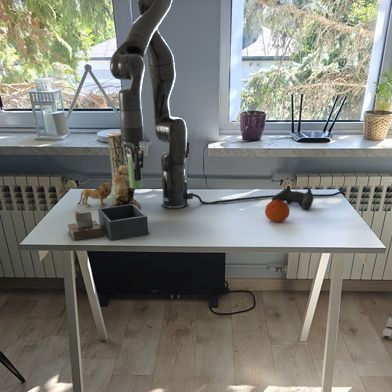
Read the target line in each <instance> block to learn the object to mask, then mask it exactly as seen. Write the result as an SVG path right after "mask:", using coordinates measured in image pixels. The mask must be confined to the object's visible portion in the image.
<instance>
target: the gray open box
mask: <svg viewBox="0 0 392 392" xmlns="http://www.w3.org/2000/svg"><path fill="white" fill-rule="evenodd" d="M97 214H98V224H99V226H100V227H101V228H102V232H104V233H105V234H106V236H107V238H108V239H110V241H116V240H122V239H128V238H134V237H141V236H146V235H149V225H148V224H149V222H148V215H146V213H145V212H143V211H142V210H141V209H140V207H139V208H137V207H136V206H135V205H134V204H128V205H121V206H114V207H110V206H108V207H102V208H97Z"/></svg>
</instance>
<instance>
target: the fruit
mask: <svg viewBox="0 0 392 392" xmlns="http://www.w3.org/2000/svg"><path fill="white" fill-rule="evenodd" d="M264 215H265V217H266V218H267V219H268V220H269V221H271V222H274V223H281V222H284V221H285V220H287V219H288V218H289V216H290V207H289V205H288V203H287V202H286V201H282V200H278V199H276V200H274V201H272V200H271V201H270V202H268V203H267V205H266V206H265V209H264Z"/></svg>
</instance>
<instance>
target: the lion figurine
mask: <svg viewBox="0 0 392 392" xmlns="http://www.w3.org/2000/svg"><path fill="white" fill-rule="evenodd" d="M112 193H113V190H112V184H110V183H109V182H103V183H102V184H101V185H100V186H98V187H97V188H96V189H90V188H83V189H82V191H81V193H80V198H79V202H78V203H77V205H78V206H79V205H81V204H82V205H85V206H86V207H87V208H89V207H90V206H91V205H90V204H89V203H88V200H89V198H90V199H92V200H99V203H100V206H101V207H102V208H105V203H104V200H107V199H108V197H109V196H110V195H111V194H112Z"/></svg>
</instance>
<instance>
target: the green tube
mask: <svg viewBox="0 0 392 392" xmlns="http://www.w3.org/2000/svg"><path fill="white" fill-rule="evenodd" d="M127 157H128V163H127V167H128V170H129V182H130V188H136V189H141V188H143V172H142V169H141V180H139V181H136V180H135V179H134V168H133V162H131V155H130V153H127ZM133 159H135V158H134V157H133ZM138 165H139V162H138Z"/></svg>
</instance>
